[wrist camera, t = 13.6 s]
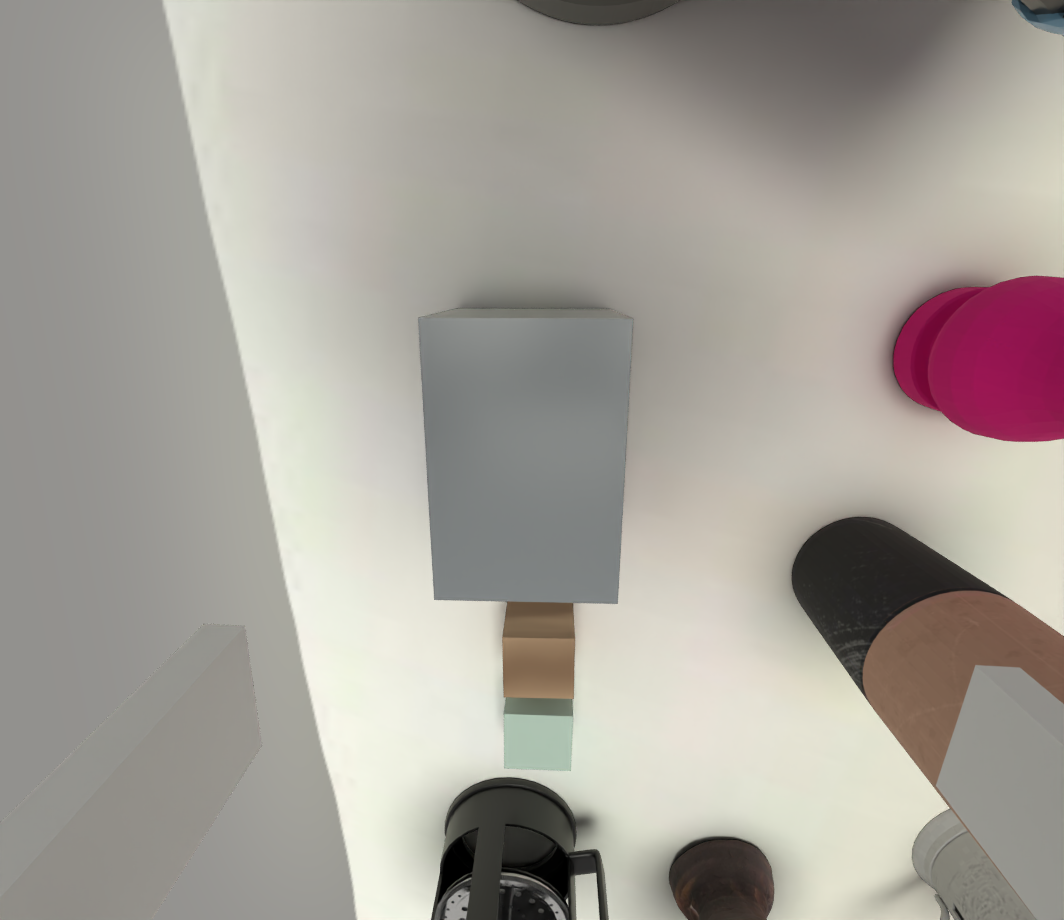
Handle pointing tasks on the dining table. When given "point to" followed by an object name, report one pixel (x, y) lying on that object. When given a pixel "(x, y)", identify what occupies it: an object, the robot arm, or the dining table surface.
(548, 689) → the walnut block
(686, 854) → the mortar and pestle
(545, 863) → the french press
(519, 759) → the sage block
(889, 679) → the travel mug
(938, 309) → the pepper mill
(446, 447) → the grey rectangular block
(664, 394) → the dining table surface
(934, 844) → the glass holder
